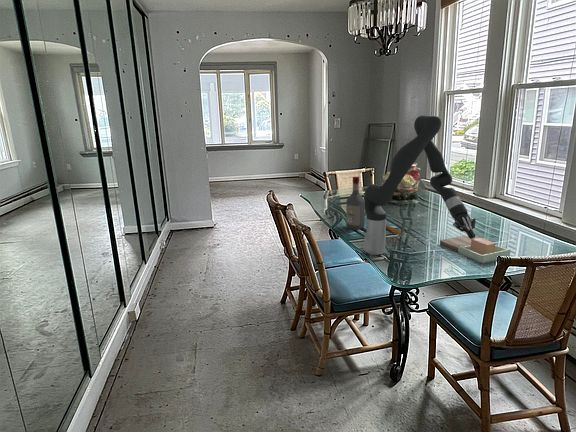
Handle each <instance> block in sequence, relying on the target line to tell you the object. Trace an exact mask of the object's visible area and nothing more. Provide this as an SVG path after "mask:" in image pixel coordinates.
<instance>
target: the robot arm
mask: <svg viewBox="0 0 576 432" xmlns="http://www.w3.org/2000/svg"><path fill="white" fill-rule="evenodd" d="M413 125H414V126H413V127H414V132H415V133H416V135H417V136H416V137H415V138H413V139H412V140H410V141H409V142H407V143H406V144H404V145H403V146H402V147H401V148H400V149H399V150H397V152H396V153H395V155H394V156H393V158H392V160H391V162H390V167H389V172H390V174H389V177H388V178H387V180H386V181H385V183H384V184H383V185H382V184H376V183H371V184H370V185H368V186H367V188H366V190H365V192H364V200H365V214H366V215H365V216H366V225H365V226H366V227H365V228H366V229H365V230H366V232H364V241H363V243H364V244H363V245H364V246H363V247H364V248H363V250H364V251H363V252H365V253H367V254H369V255H370V256H380V255H379V254H381V255H383V253H384V254H386V237H387V229H386V224H387V212H386V211H385V209H384V208H383V206H386V205H387V204H388V203H390V202H389V201H390V199H391V198H392V196H393V194H394V192H395V191H396V189H397V187H398V185H399V184H400V182H401V181H402V179H403V178H404V176H405V175H406V173H407V172H408V170H409V169H410V168H411V166H412V165H413V164H415V162H416V160H418V157H419V156H420V155H421V153H422V152H423V151H424V153H425V155H426V157H427V161H428V164H429V165H428V166H429V168H430V171H431V172H432V173H433V174H436V175H433V176H431V177H430V180H429V183H430V185H431V187H432V188H433V190H435V191H436V192H437V193H438V194H439V195H440V196H441V198H442V200H443V202H444V203H445V207H446V208H447V211H448V212H449V215H450V216H451V218H452V219H454V223H452V226H453V227H455V228H456V229H457V230H458V231H460V232H462V233H463V232H464V233H466V236H468V237H469V238H470V239H474V238H476V234H475V233H474V230H473V229H475V228H476V218H472V217H471V216H470V215H469V214H468V210H467V208H466V206H465V204H464V203H463V201H462V199H461V198H460V197H459V194H458V193H457V192H456V189H455V188H453V187H446V186H450V185H451V184H452V183H453V177H452V174H451V173H450V171H448V168H447V166H446V165H445V161H444V158H443V157H444V156H443V154H442V152H441V151H440V149H439V147H438V146H437V145H436V143H435V141H433V139H434V138H435V136H436V135H437V134H438V133H439V131H440V130H441V127H442V119H441V118H440V117H439V116H438V115H431V114H429V115H427V114H426V115H425V114H424V115H419V116H417V117H416V119H415V120H414V124H413Z"/></svg>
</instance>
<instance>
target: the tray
mask: <svg viewBox="0 0 576 432" xmlns="http://www.w3.org/2000/svg"><path fill="white" fill-rule="evenodd" d="M470 248H471V245H470V246H465V247H461V246H459V248H458V253H457V254H459V255H462V256H464V257H467V258H469V259H471V260H473V261H476V262H477V263H480V264H482V265H484V264H488V263H493V262H497V261H496V258H497V256H510V257H511V249H507V248H505V247H502V246H499V245H497V244H495V252H494V253H489V254H485V255H480V254H478V253H476V252H473V251H471V250H470Z"/></svg>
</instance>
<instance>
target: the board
mask: <svg viewBox="0 0 576 432" xmlns="http://www.w3.org/2000/svg"><path fill="white" fill-rule="evenodd" d="M470 245H471V239H470V238H469V237H468V235H461V236H455V237H449V238H445V239H440V240H439V246H441V247H443V248H446V249H448V250H450V251H453V252H455V253H457V254H459V253H458V248H459V246H461V247H465V246H470Z"/></svg>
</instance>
